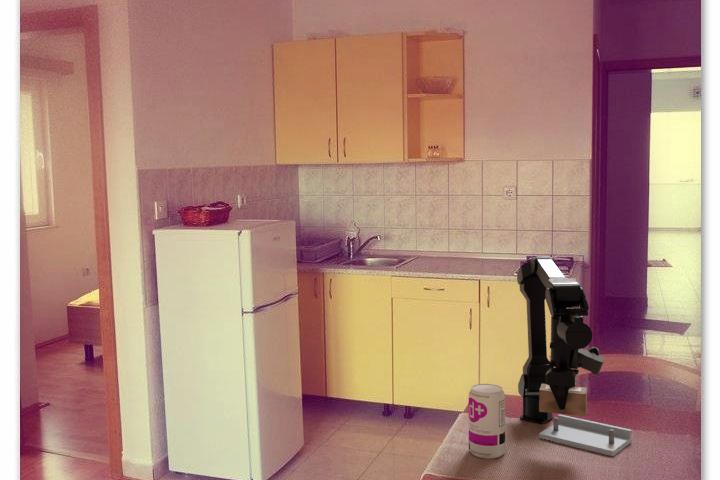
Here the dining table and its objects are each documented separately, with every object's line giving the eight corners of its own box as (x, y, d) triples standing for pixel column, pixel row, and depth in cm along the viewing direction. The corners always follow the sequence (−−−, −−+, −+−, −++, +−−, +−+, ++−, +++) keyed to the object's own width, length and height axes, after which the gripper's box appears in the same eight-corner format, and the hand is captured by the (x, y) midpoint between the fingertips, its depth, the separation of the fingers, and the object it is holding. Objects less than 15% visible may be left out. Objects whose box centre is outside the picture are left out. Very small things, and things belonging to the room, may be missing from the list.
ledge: (538, 438, 169) (538, 421, 169) (559, 425, 177) (559, 409, 177) (613, 456, 157) (613, 438, 157) (631, 442, 166) (631, 424, 165)
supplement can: (483, 462, 155) (483, 395, 154) (461, 450, 163) (461, 386, 161) (512, 455, 159) (512, 390, 158) (490, 443, 166) (489, 381, 165)
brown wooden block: (539, 411, 159) (539, 389, 159) (541, 404, 164) (541, 383, 163) (585, 416, 156) (585, 393, 155) (586, 409, 160) (587, 386, 160)
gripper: (600, 350, 147) (599, 423, 148) (603, 331, 164) (602, 396, 166) (545, 346, 151) (544, 417, 152) (553, 328, 168) (553, 392, 170)
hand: (563, 405), depth 160 cm, fingers closed on brown wooden block, 5 cm apart
